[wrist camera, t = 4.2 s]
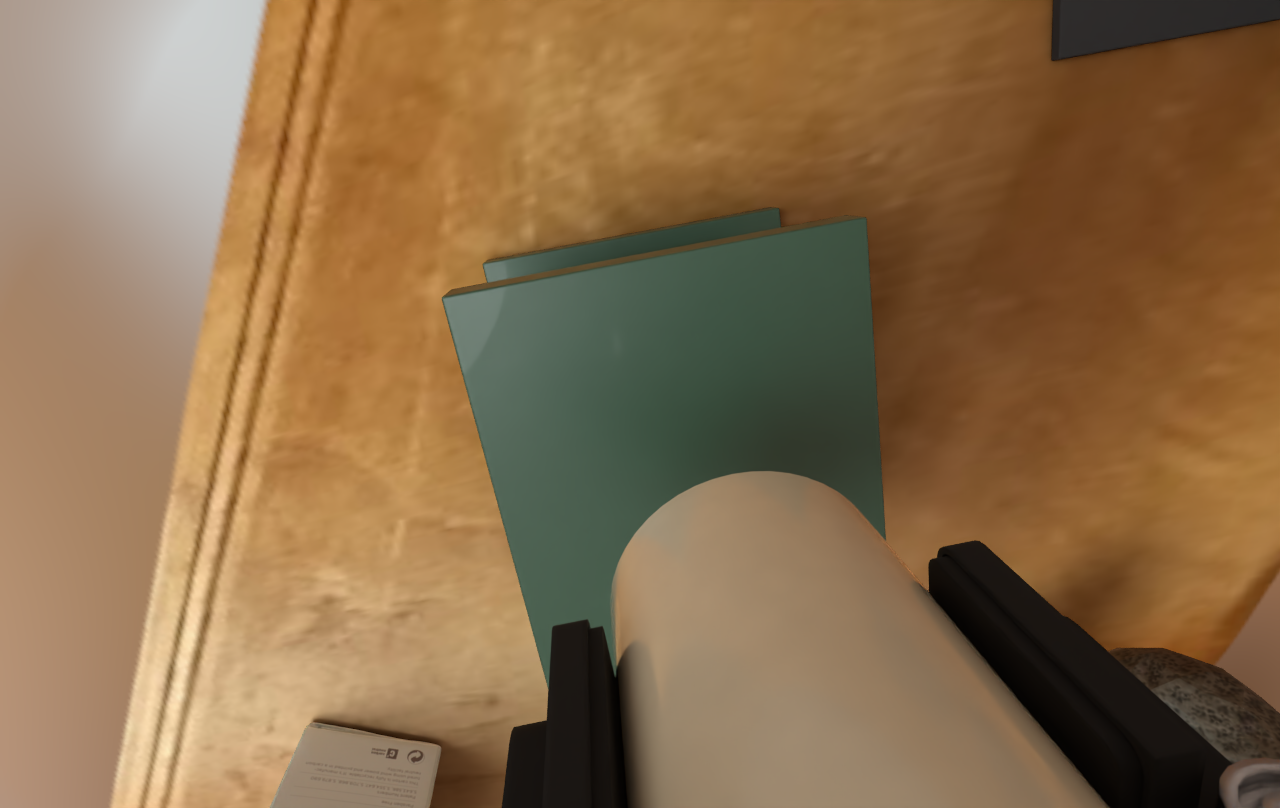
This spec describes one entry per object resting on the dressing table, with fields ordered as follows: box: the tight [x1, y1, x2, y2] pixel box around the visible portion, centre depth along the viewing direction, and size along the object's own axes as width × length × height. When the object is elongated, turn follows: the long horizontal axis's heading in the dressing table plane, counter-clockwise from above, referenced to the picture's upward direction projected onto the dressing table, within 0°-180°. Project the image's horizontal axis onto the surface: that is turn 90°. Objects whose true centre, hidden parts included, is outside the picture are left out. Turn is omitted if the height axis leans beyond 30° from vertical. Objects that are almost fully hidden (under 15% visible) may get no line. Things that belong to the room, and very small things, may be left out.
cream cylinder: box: [610, 471, 1110, 808], centre depth 9 cm, size 5×5×7 cm
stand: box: [442, 207, 886, 690], centre depth 21 cm, size 12×10×8 cm
